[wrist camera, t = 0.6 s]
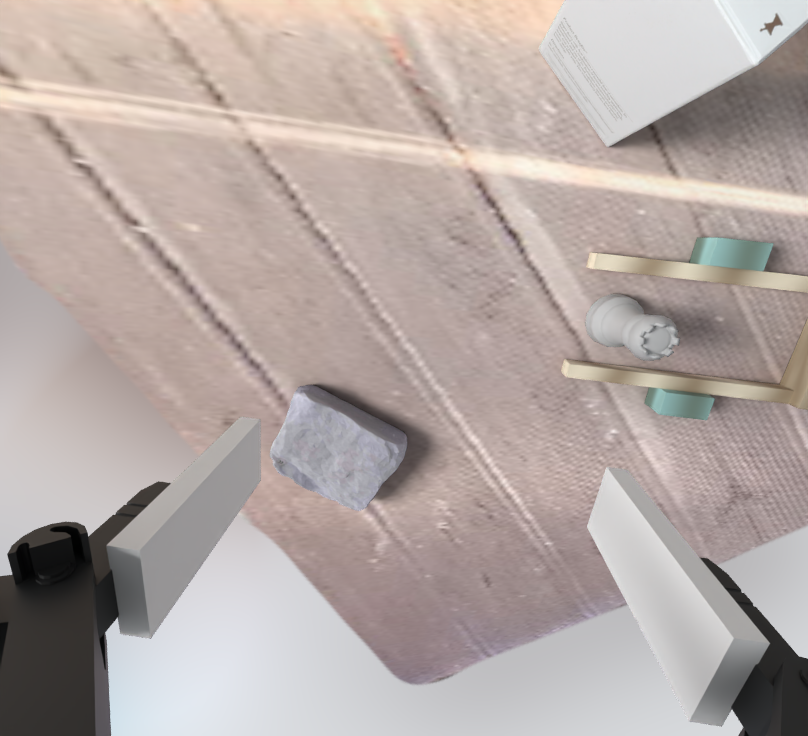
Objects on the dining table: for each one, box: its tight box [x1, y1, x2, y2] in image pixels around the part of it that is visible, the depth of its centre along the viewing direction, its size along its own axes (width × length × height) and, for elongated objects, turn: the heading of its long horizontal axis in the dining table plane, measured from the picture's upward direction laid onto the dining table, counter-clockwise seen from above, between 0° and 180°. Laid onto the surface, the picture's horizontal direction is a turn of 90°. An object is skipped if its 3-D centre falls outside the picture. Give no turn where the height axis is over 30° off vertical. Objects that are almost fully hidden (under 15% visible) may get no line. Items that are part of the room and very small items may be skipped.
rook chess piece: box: [585, 294, 680, 361], centre depth 31 cm, size 4×4×8 cm
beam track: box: [561, 238, 808, 420], centre depth 33 cm, size 20×14×2 cm
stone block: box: [270, 385, 407, 511], centre depth 39 cm, size 12×5×10 cm
